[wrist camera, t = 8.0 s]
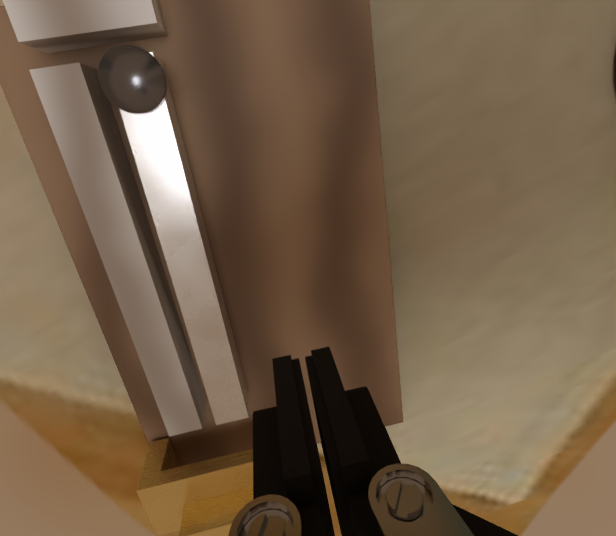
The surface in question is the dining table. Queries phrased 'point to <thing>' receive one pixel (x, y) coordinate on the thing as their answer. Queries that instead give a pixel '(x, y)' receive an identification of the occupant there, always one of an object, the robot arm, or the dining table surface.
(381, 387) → the tongs board
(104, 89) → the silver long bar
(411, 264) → the dining table surface
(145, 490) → the pale yellow block
